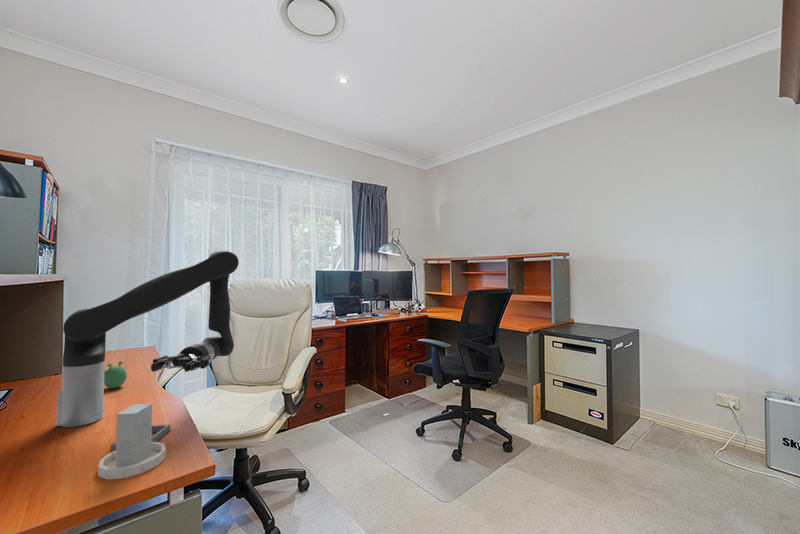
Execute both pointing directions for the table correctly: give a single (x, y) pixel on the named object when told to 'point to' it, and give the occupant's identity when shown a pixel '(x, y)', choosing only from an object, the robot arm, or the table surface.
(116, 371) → the alien toy
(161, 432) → the tray
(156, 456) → the bowl
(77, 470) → the table surface
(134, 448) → the skincare box
